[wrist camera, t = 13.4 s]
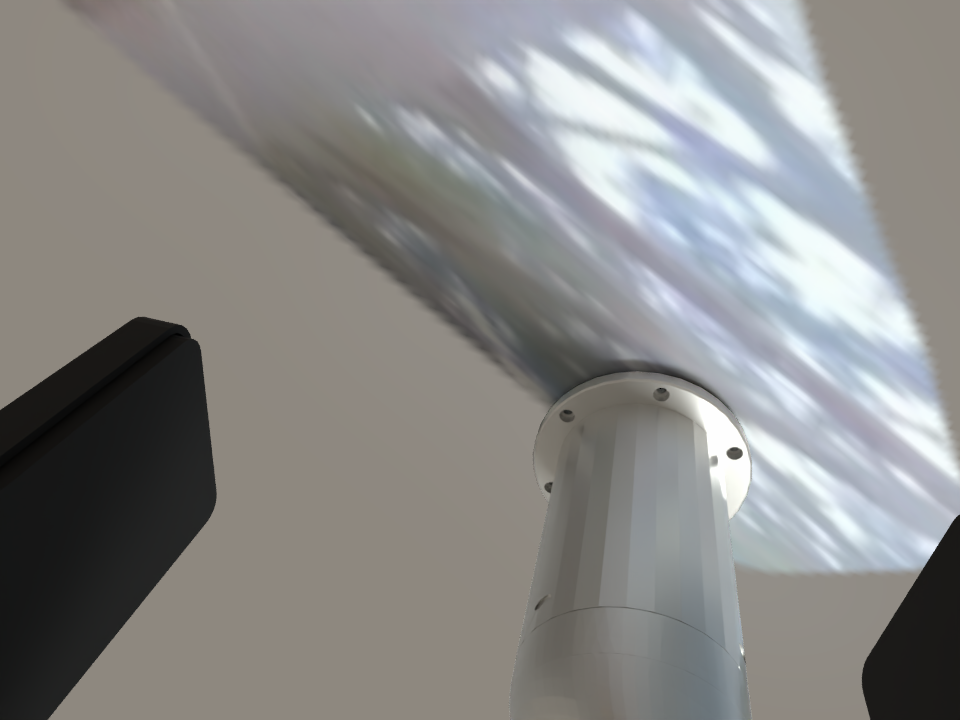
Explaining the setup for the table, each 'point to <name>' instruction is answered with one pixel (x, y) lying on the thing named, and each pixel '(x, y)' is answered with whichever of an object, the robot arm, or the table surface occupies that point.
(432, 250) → the table surface
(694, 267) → the table surface
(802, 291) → the table surface
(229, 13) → the table surface
